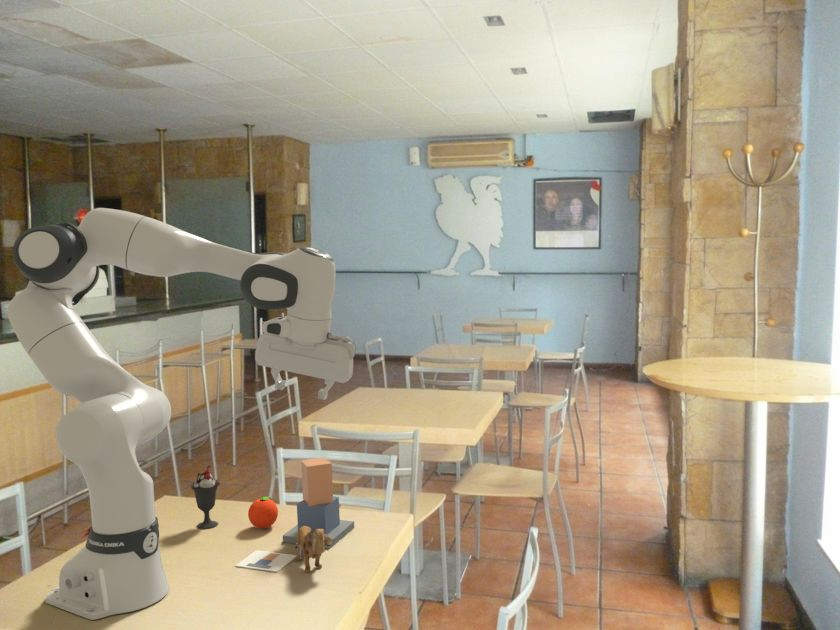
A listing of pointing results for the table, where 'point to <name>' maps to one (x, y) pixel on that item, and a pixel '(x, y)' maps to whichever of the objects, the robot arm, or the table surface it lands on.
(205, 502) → the sundae
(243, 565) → the page
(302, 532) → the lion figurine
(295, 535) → the tower base
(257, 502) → the clementine
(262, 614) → the table surface
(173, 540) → the table surface
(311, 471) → the terracotta brick
